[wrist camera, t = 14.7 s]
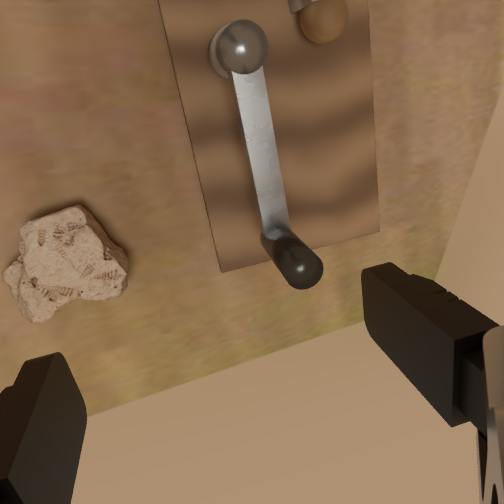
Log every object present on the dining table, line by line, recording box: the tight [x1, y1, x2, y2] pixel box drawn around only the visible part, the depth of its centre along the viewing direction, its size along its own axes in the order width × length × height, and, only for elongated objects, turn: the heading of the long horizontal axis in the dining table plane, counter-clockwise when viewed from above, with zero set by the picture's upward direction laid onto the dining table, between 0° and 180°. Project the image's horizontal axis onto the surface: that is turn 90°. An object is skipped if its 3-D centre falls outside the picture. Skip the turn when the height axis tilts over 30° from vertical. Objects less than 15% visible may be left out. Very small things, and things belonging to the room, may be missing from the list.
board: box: [158, 0, 380, 273], centre depth 36 cm, size 26×18×6 cm
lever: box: [215, 19, 323, 290], centre depth 31 cm, size 19×4×8 cm, turn 12°
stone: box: [2, 205, 129, 324], centre depth 37 cm, size 9×11×5 cm
